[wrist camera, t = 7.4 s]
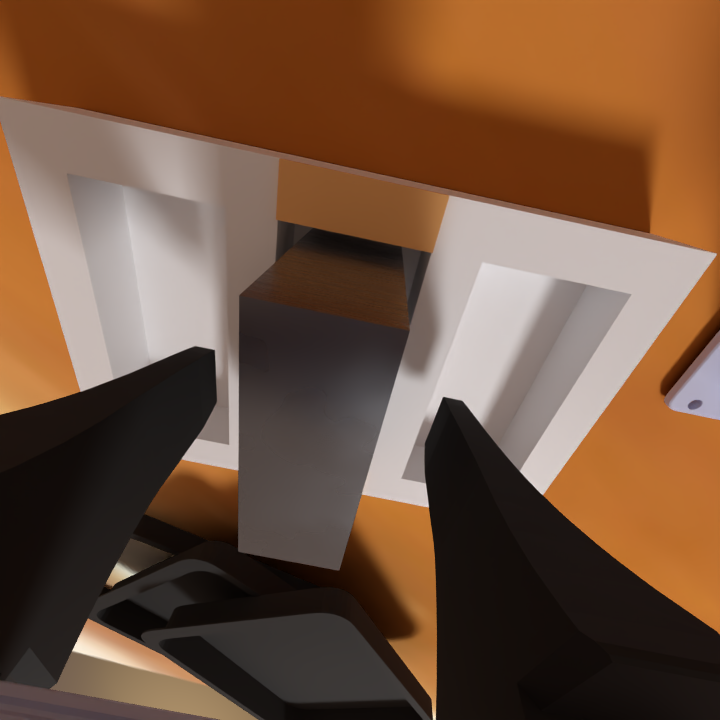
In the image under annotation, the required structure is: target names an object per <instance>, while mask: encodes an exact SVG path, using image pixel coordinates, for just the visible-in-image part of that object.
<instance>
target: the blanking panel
mask: <svg viewBox="0 0 720 720" xmlns="http://www.w3.org/2000/svg"><path fill="white" fill-rule="evenodd" d="M409 332H410V326H409V316H408V306H407V296H406V286H405V276H404V266H403V256H402V247H401V246H397V245H392V244H387V243H383V242H378V241H373V240H369V239H364V238H359V237H355V236H350V235H345V234H341V233H336V232H331V231H327V230H322V229H317V228H312V229H311V230H310V231H309V232H308V233H307V234H306V235H305V236H303V237H302V238H301V239H300V240H299V241H298V242H297V243H296V244H295V245H294V246H293V247H291V248H290V249H289V250H288V251H287V252H286V253H285V254H284V255H283V256H282V257H281V258H279V259H278V260H277V261H276V262H275V263H274V264H273V265H272V266H271V267H270V268H269V269H267V270H266V271H265V272H264V273H263V274H262V275H261V276H260V277H259V278H258V279H256V280H255V281H254V282H253V283H252V284H251V285H250V286H249V287H248V288H247V289H246V290H244V291H243V292H242V293H241V294H240V295H239V452H238V552H242V553H248V554H253V555H258V556H264V557H269V558H274V559H280V560H285V561H290V562H296V563H301V564H306V565H312V566H317V567H322V568H328V569H333V570H338V571H339V569H340V566H341V563H342V559H343V556H344V553H345V549H346V546H347V542H348V539H349V536H350V532H351V529H352V525H353V522H354V519H355V515H356V512H357V509H358V505H359V502H360V498H361V495H362V492H363V488H364V485H365V481H366V478H367V475H368V471H369V468H370V464H371V461H372V458H373V454H374V451H375V448H376V444H377V441H378V437H379V434H380V431H381V427H382V424H383V420H384V417H385V414H386V410H387V407H388V403H389V400H390V397H391V393H392V390H393V387H394V383H395V380H396V376H397V373H398V370H399V366H400V363H401V359H402V356H403V353H404V349H405V346H406V343H407V339H408V336H409Z"/></svg>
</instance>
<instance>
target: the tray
mask: <svg viewBox="0 0 720 720" xmlns="http://www.w3.org/2000/svg"><path fill="white" fill-rule="evenodd" d="M130 538H132V539H135V540H138V541H141V542H143V543H146V544H148V545H151V546H153V547H156V548H158V549H161V550H163V551H166V552H169V553H171V554H174V555H176V556H174V557H171V558H169V559H167V560H165V561H163V562H161V563H159V564H156V565H154V566H152V567H150V568H148V569H146V570H143V571H141V572H139V573H137V574H135V575H133V576H130V577H128V578H126V579H124V580H122V581H120V582H118V583H116V584H115V585H114V586H113V588H112V589H111V590H110V589H108V588H106V587H104V588H103V589H102V591H101V593H100V595H99V597H98V599H97V601H96V603H95V605H94V607H93V609H92V611H91V613H90V615H89V617H88V618H89V619H91V620H93V621H95V622H97V623H99V624H101V625H103V626H105V627H107V628H109V629H111V630H113V631H115V632H117V633H119V634H121V635H123V636H125V637H127V638H129V639H131V640H133V641H136V642H138V643H140V644H142V645H144V646H146V647H148V648H150V649H152V650H154V651H156V652H158V653H160V654H162V655H164V656H165V657H167V658H168V659H170V660H171V661H173V662H174V663H176V664H177V665H179V666H180V667H181V668H183V669H184V670H186V671H187V672H189V673H190V674H192V675H193V676H195V677H196V678H198V679H199V680H201V681H202V682H204V683H205V684H207V685H208V686H209V687H211V688H213V689H214V690H215V691H217V692H218V693H220V694H222V695H223V696H224V697H226V698H227V699H229V700H230V701H232V702H233V703H235V704H236V705H238V706H239V707H241V708H242V709H243V710H245V711H247V712H248V713H249V714H251V715H252V716H254V717H255V718H257V719H258V720H433V715H432V701H431V698H430V697H429V695H428V694H427V693H426V691H425V690H424V689H423V687H422V686H421V685H420V683H419V682H418V681H417V679H416V678H415V677H414V675H413V674H412V673H411V671H410V670H409V669H408V668H407V666H406V665H405V664H404V662H403V661H402V660H401V658H400V657H399V656H398V654H397V653H396V652H395V650H394V649H393V648H392V646H391V645H390V644H389V642H388V641H387V640H386V639H385V637H384V636H383V635H382V633H381V632H380V631H379V629H378V628H377V627H376V625H375V624H374V623H373V621H372V620H371V619H370V617H369V616H368V615H367V613H366V612H365V611H364V609H363V608H362V607H361V606H360V604H359V603H358V602H357V600H356V599H355V598H354V597H353V596H352V595H351V594H350V593H348V592H347V591H345V590H342V589H339V588H333V587H319V586H317V585H314V584H312V583H310V582H307V581H305V580H302V579H300V578H297V577H295V576H293V575H290V574H288V573H285V572H283V571H281V570H278V569H276V568H273V567H271V566H268V565H266V564H264V563H261V562H259V561H256V560H254V559H252V558H250V557H249V556H247V555H246V554H244V553H242V552H238V549H237V548H236V547H234V546H232V545H230V544H228V543H225V542H222V541H208V540H206V539H203V538H201V537H199V536H196V535H194V534H191V533H189V532H186V531H184V530H182V529H179V528H177V527H174V526H172V525H170V524H167V523H165V522H162V521H160V520H157V519H155V518H153V517H150V516H147V515H143V517H142V518H141V520H140V522H139V524H138V525H137V527H136V529H135V530H134V532H133V534H132V536H131V537H130Z"/></svg>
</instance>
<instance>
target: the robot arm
mask: <svg viewBox="0 0 720 720" xmlns="http://www.w3.org/2000/svg"><path fill="white" fill-rule="evenodd" d="M691 401H692V402H691ZM664 402H665V404H666V405H667V406H668V407H669V408H670V409H672V410H674V411H679V412H684V413H689V414H693V415H698V416H703V417H708V418H713V419H718V420H720V330H719V331H718V333H717V334H716V335H715V336H714V338H713V339H712V340H711V341H710V342H709V344H708V345H707V346H706V347H705V348H704V350H703V351H702V352H701V353H700V355H699V356H698V357H697V358H696V359H695V361H694V362H693V363H692V364H691V366H690V367H689V368H688V369H687V370H686V372H685V373H684V374H683V375H682V376H681V378H680V379H679V380H678V381H677V383H676V384H675V385H674V386H673V387H672V389H671V390H670V391H669V392H668V393H667V395H666V397H665V398H664ZM690 402H691V403H690ZM216 403H217V387H216V361H215V350H213V349H208V348H203V347H198V346H194V347H191V348H188V349H186V350H183V351H181V352H178V353H176V354H174V355H171V356H169V357H167V358H164V359H162V360H160V361H157V362H155V363H153V364H150V365H148V366H146V367H143V368H141V369H139V370H136V371H134V372H131V373H129V374H126V375H124V376H121V377H119V378H116V379H113V380H111V381H108V382H106V383H103V384H100V385H98V386H95V387H93V388H90V389H87V390H84V391H81V392H78V393H75V394H72V395H69V396H66V397H63V398H60V399H56V400H53V401H50V402H47V403H43V404H40V405H36V406H33V407H29V408H25V409H21V410H17V411H13V412H9V413H5V414H1V415H0V720H218V719H213V718H207V717H202V716H196V715H191V714H185V713H179V712H174V711H168V710H162V709H157V708H151V707H146V706H140V705H135V704H129V703H124V702H118V701H113V700H107V699H102V698H96V697H90V696H85V695H79V694H74V693H68V692H63V691H57V690H51V689H50V688H51V687H52V686H54V685H55V684H56V683H57V682H58V680H59V677H60V675H61V673H62V671H63V669H64V667H65V664H66V662H67V660H68V658H69V656H70V654H71V652H72V650H73V648H74V646H75V644H76V642H77V639H78V637H79V635H80V633H81V631H82V629H83V627H84V625H85V623H86V621H87V619H88V617H89V615H90V613H91V611H92V609H93V607H94V605H95V603H96V601H97V599H98V597H99V595H100V593H101V591H102V589H103V588H104V586H105V584H106V582H107V580H108V578H109V576H110V574H111V572H112V570H113V568H114V567H115V565H116V563H117V561H118V559H119V557H120V556H121V554H122V552H123V550H124V548H125V547H126V545H127V543H128V541H129V539H130V537H131V536H132V534H133V532H134V530H135V529H136V527H137V525H138V524H139V522H140V520H141V518H142V517H143V515H144V513H145V511H146V510H147V508H148V506H149V505H150V503H151V501H152V500H153V498H154V497H155V495H156V494H157V492H158V491H159V489H160V488H161V486H162V485H163V484H164V482H165V481H166V480H167V478H168V477H169V475H170V474H171V473H172V471H173V470H174V468H175V467H176V466H177V464H178V463H179V462H180V460H181V459H182V457H183V456H184V455H185V453H186V452H187V451H188V449H189V448H190V446H191V445H192V443H193V442H194V441H195V439H196V438H197V436H198V435H199V434H200V432H201V431H202V429H203V428H204V426H205V424H206V422H207V420H208V418H209V417H210V415H211V413H212V411H213V409H214V407H215V405H216ZM424 468H425V481H426V489H427V496H428V504H429V511H430V519H431V526H432V534H433V541H434V551H435V569H436V602H437V697H436V720H720V635H719V634H718V632H717V631H715V630H714V629H712V628H711V627H709V626H708V625H707V624H705V623H704V622H702V621H701V620H699V619H698V618H696V617H695V616H693V615H692V614H691V613H689V612H688V611H686V610H685V609H683V608H682V607H680V606H679V605H678V604H676V603H675V602H673V601H672V600H670V599H669V598H667V597H666V596H665V595H663V594H662V593H660V592H659V591H657V590H656V589H654V588H653V587H652V586H650V585H649V584H648V583H646V582H645V581H644V580H642V579H641V578H640V577H638V576H637V575H636V574H634V573H633V572H632V571H630V570H629V569H628V568H626V567H625V566H624V565H623V564H621V563H620V562H619V561H617V560H616V559H615V558H614V557H612V556H611V555H610V554H609V553H607V552H606V551H605V550H604V549H602V548H601V547H600V546H599V545H597V544H596V543H595V542H594V541H593V540H591V539H590V538H589V537H588V536H587V535H586V534H584V533H583V532H582V531H581V530H580V529H579V528H577V527H576V526H575V525H574V524H573V523H572V522H570V521H569V520H568V519H567V518H566V517H565V516H564V515H563V514H562V513H561V512H559V511H558V510H557V509H556V508H555V507H554V506H553V505H552V504H551V503H550V502H549V501H548V500H547V499H546V498H545V497H544V496H543V495H542V494H541V493H540V492H539V491H538V490H537V489H536V488H535V487H534V486H533V485H532V484H531V483H530V482H529V481H528V480H527V479H526V478H525V477H524V475H523V474H522V473H521V472H520V471H519V470H518V469H517V468H516V467H515V465H514V464H513V463H512V462H511V461H510V460H509V459H508V457H507V456H506V455H505V454H504V453H503V451H502V450H501V449H500V448H499V447H498V445H497V444H496V443H495V442H494V440H493V439H492V438H491V437H490V435H489V434H488V433H487V432H486V430H485V429H484V428H483V426H482V425H481V424H480V422H479V421H478V420H477V419H476V417H475V416H474V415H473V413H472V412H471V411H470V410H469V408H468V407H467V406H466V404H465V403H464V402H463V401H462V400H457V399H452V398H447V397H443V398H442V401H441V403H440V406H439V408H438V411H437V413H436V416H435V419H434V421H433V424H432V426H431V429H430V431H429V434H428V436H427V439H426V441H425V450H424Z"/></svg>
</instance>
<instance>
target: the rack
mask: <svg viewBox="0 0 720 720" xmlns="http://www.w3.org/2000/svg"><path fill="white" fill-rule="evenodd" d="M0 121H1V125H2V128H3V131H4V135H5V138H6V141H7V145H8V148H9V152H10V155H11V158H12V162H13V165H14V168H15V172H16V175H17V179H18V182H19V185H20V189H21V192H22V195H23V199H24V202H25V205H26V209H27V212H28V216H29V219H30V222H31V226H32V229H33V232H34V236H35V239H36V243H37V246H38V249H39V253H40V256H41V259H42V263H43V266H44V270H45V273H46V276H47V280H48V283H49V286H50V290H51V293H52V296H53V300H54V303H55V307H56V310H57V313H58V317H59V320H60V323H61V327H62V330H63V334H64V337H65V340H66V344H67V347H68V350H69V354H70V357H71V361H72V364H73V367H74V371H75V374H76V377H77V381H78V384H79V387H80V391H84V390H87V389H90V388H93V387H95V386H98V385H100V384H103V383H106V382H108V381H111V380H113V379H116V378H119V377H121V376H124V375H126V374H129V373H131V372H134V371H136V370H139V369H141V368H143V367H146V366H148V365H150V364H153V363H155V362H157V361H160V360H162V359H164V358H167V357H169V356H171V355H174V354H176V353H178V352H181V351H183V350H186V349H188V348H191V347H194V346H198V347H203V348H208V349H213V350H215V361H216V387H217V403H216V405H215V407H214V409H213V411H212V413H211V415H210V417H209V418H208V420H207V422H206V424H205V426H204V428H203V429H202V431H201V432H200V434H199V435H198V436H197V438H196V439H195V441H194V442H193V443H192V445H191V446H190V448H189V449H188V451H187V452H186V453H185V455H184V456H183V457H182V460H187V461H192V462H197V463H203V464H208V465H213V466H218V467H223V468H228V469H234V470H238V452H239V295H240V294H241V293H242V292H243V291H244V290H246V289H247V288H248V287H249V286H250V285H251V284H252V283H253V282H254V281H255V280H256V279H258V278H259V277H260V276H261V275H262V274H263V273H264V272H265V271H266V270H267V269H269V268H270V267H271V266H272V265H273V264H274V263H275V262H276V261H277V260H278V259H279V258H281V257H282V256H283V255H284V254H285V253H286V252H287V251H288V250H289V249H290V248H291V247H293V246H294V245H295V244H296V243H297V242H298V241H299V240H300V239H301V238H302V237H303V236H305V235H306V234H307V233H308V232H309V231H310V230H311V229H312V228H317V229H322V230H327V231H331V232H336V233H341V234H345V235H350V236H355V237H359V238H364V239H369V240H373V241H378V242H383V243H387V244H392V245H397V246H401V247H402V256H403V266H404V276H405V286H406V296H407V306H408V316H409V326H410V332H409V336H408V339H407V343H406V346H405V349H404V353H403V356H402V359H401V363H400V366H399V370H398V373H397V376H396V380H395V383H394V387H393V390H392V393H391V397H390V400H389V403H388V407H387V410H386V414H385V417H384V420H383V424H382V427H381V431H380V434H379V437H378V441H377V444H376V448H375V451H374V454H373V458H372V461H371V464H370V468H369V471H368V475H367V478H366V481H365V485H364V488H363V492H362V494H363V495H368V496H373V497H378V498H383V499H388V500H394V501H399V502H404V503H409V504H414V505H419V506H425V507H429V504H428V496H427V489H426V481H425V468H424V450H425V441H426V439H427V436H428V434H429V431H430V429H431V426H432V424H433V421H434V419H435V416H436V413H437V411H438V408H439V406H440V403H441V401H442V398H443V397H447V398H452V399H457V400H462V401H463V402H464V403H465V404H466V406H467V407H468V408H469V410H470V411H471V412H472V413H473V415H474V416H475V417H476V419H477V420H478V421H479V422H480V424H481V425H482V426H483V428H484V429H485V430H486V432H487V433H488V434H489V435H490V437H491V438H492V439H493V440H494V442H495V443H496V444H497V445H498V447H499V448H500V449H501V450H502V451H503V453H504V454H505V455H506V456H507V457H508V459H509V460H510V461H511V462H512V463H513V464H514V465H515V467H516V468H517V469H518V470H519V471H520V472H521V473H522V474H523V475H524V477H525V478H526V479H527V480H528V481H529V482H530V483H531V484H532V485H533V486H534V487H535V488H536V489H537V490H538V491H539V492H540V493H541V494H542V495H543V494H544V493H545V491H546V490H547V488H548V487H549V486H550V484H551V483H552V482H553V480H554V479H555V477H556V476H557V475H558V473H559V472H560V471H561V469H562V468H563V466H564V465H565V464H566V462H567V461H568V459H569V458H570V457H571V455H572V454H573V453H574V451H575V450H576V448H577V447H578V446H579V444H580V443H581V442H582V440H583V439H584V437H585V436H586V435H587V433H588V432H589V430H590V429H591V428H592V426H593V425H594V424H595V422H596V421H597V419H598V418H599V417H600V415H601V414H602V413H603V411H604V410H605V408H606V407H607V406H608V404H609V403H610V401H611V400H612V399H613V397H614V396H615V395H616V393H617V392H618V390H619V389H620V388H621V386H622V385H623V384H624V382H625V381H626V379H627V378H628V377H629V375H630V374H631V373H632V371H633V370H634V368H635V367H636V366H637V364H638V363H639V361H640V360H641V359H642V357H643V356H644V355H645V353H646V352H647V350H648V349H649V348H650V346H651V345H652V344H653V342H654V341H655V339H656V338H657V337H658V335H659V334H660V332H661V331H662V330H663V328H664V327H665V326H666V324H667V323H668V321H669V320H670V319H671V317H672V316H673V315H674V313H675V312H676V310H677V309H678V308H679V306H680V305H681V303H682V302H683V301H684V299H685V298H686V297H687V295H688V294H689V292H690V291H691V290H692V288H693V287H694V286H695V284H696V283H697V281H698V280H699V279H700V277H701V276H702V274H703V273H704V272H705V270H706V269H707V268H708V266H709V265H710V263H711V262H712V261H713V259H714V258H715V257H716V255H717V254H716V253H713V252H710V251H706V250H703V249H700V248H696V247H693V246H690V245H687V244H683V243H680V242H677V241H673V240H670V239H667V238H664V237H660V236H657V235H654V234H650V233H646V232H641V231H637V230H632V229H627V228H623V227H618V226H614V225H609V224H605V223H600V222H595V221H591V220H586V219H582V218H577V217H573V216H568V215H564V214H559V213H554V212H550V211H545V210H541V209H536V208H532V207H527V206H523V205H518V204H513V203H509V202H504V201H500V200H495V199H491V198H486V197H482V196H477V195H472V194H468V193H463V192H459V191H454V190H450V189H445V188H440V187H436V186H431V185H427V184H422V183H418V182H413V181H409V180H404V179H399V178H395V177H390V176H386V175H381V174H377V173H372V172H368V171H363V170H358V169H354V168H349V167H345V166H340V165H336V164H331V163H327V162H322V161H317V160H313V159H308V158H304V157H299V156H295V155H290V154H285V153H281V152H276V151H272V150H267V149H263V148H258V147H254V146H249V145H244V144H240V143H235V142H231V141H226V140H222V139H217V138H213V137H208V136H203V135H199V134H194V133H190V132H185V131H181V130H176V129H172V128H167V127H162V126H158V125H153V124H149V123H144V122H140V121H135V120H131V119H126V118H121V117H117V116H112V115H108V114H103V113H99V112H94V111H89V110H85V109H80V108H75V107H68V106H61V105H55V104H48V103H41V102H34V101H28V100H21V99H14V98H8V97H1V96H0Z"/></svg>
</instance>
